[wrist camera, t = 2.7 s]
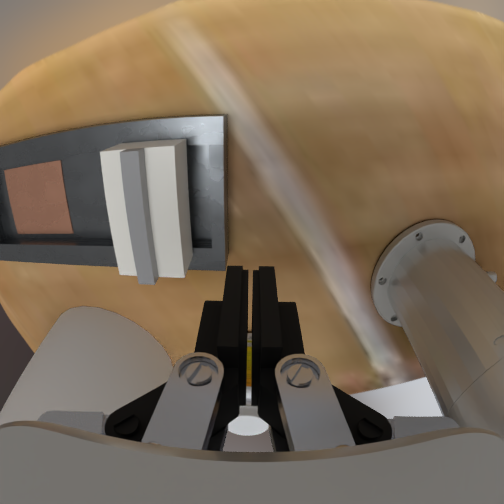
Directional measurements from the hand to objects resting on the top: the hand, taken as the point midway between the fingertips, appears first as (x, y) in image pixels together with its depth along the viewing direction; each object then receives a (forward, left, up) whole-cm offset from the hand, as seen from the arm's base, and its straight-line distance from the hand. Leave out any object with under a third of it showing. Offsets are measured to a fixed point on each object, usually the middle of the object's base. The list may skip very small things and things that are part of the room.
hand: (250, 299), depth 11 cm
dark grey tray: (+15, 0, -15) cm, 21 cm away
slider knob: (+7, 0, -13) cm, 15 cm away
